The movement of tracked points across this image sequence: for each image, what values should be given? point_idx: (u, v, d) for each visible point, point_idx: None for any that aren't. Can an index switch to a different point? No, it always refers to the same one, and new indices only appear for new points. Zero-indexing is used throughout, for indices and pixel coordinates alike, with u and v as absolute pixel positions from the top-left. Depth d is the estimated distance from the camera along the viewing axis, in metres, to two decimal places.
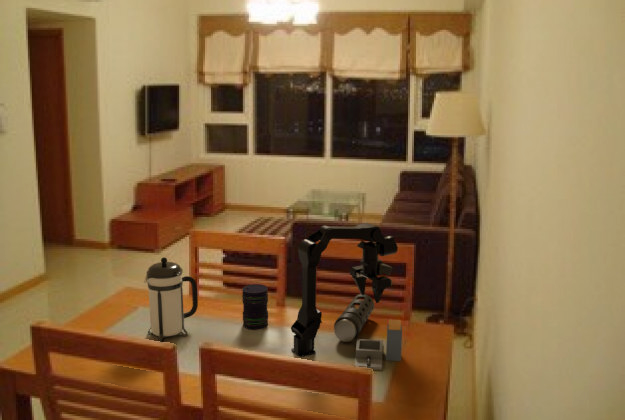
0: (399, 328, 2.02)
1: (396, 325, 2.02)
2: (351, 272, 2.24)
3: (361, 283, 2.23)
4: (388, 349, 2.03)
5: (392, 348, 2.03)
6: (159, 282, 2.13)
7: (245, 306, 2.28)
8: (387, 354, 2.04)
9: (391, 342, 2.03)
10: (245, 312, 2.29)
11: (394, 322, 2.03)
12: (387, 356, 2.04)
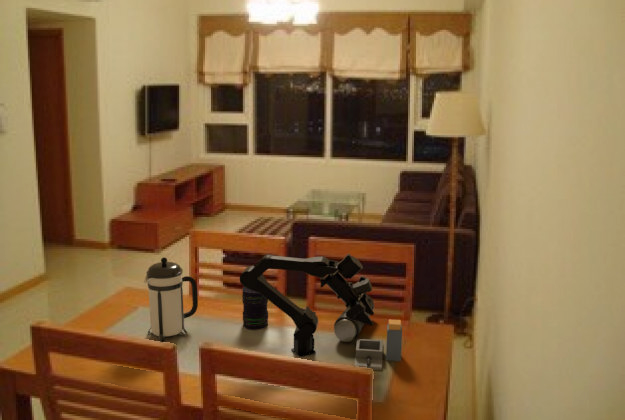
0: (399, 328, 2.02)
1: (397, 325, 2.02)
2: None
3: None
4: (388, 349, 2.03)
5: (392, 348, 2.03)
6: (159, 282, 2.13)
7: (245, 306, 2.28)
8: (387, 354, 2.04)
9: (391, 342, 2.03)
10: (245, 312, 2.29)
11: (394, 322, 2.03)
12: (387, 356, 2.04)
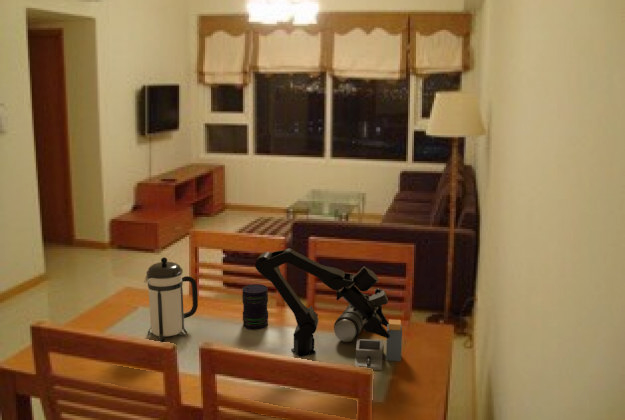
0: (399, 328, 2.02)
1: (397, 325, 2.02)
2: None
3: None
4: (388, 349, 2.03)
5: (392, 348, 2.03)
6: (159, 282, 2.13)
7: (245, 306, 2.28)
8: (387, 354, 2.04)
9: (391, 342, 2.03)
10: (245, 312, 2.29)
11: (394, 322, 2.03)
12: (387, 356, 2.04)
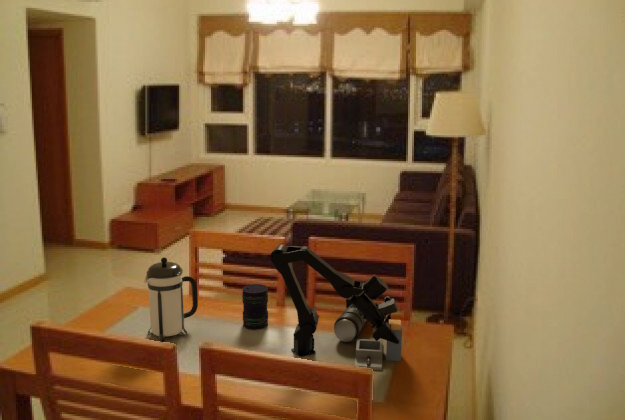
0: (399, 328, 2.02)
1: (397, 325, 2.02)
2: None
3: None
4: (388, 349, 2.03)
5: (392, 348, 2.03)
6: (159, 282, 2.13)
7: (245, 306, 2.28)
8: (387, 354, 2.04)
9: (391, 342, 2.03)
10: (245, 312, 2.29)
11: (394, 322, 2.03)
12: (387, 356, 2.04)
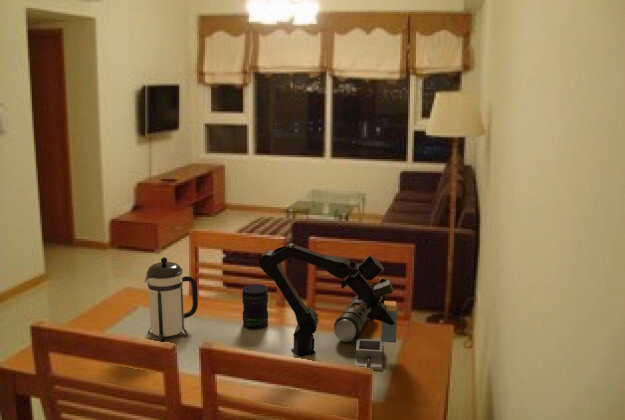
0: (394, 309, 2.00)
1: (392, 306, 2.00)
2: None
3: None
4: (383, 330, 2.02)
5: (387, 329, 2.02)
6: (159, 282, 2.13)
7: (245, 306, 2.28)
8: (382, 335, 2.02)
9: (386, 323, 2.01)
10: (245, 312, 2.29)
11: (390, 304, 2.02)
12: (382, 337, 2.03)
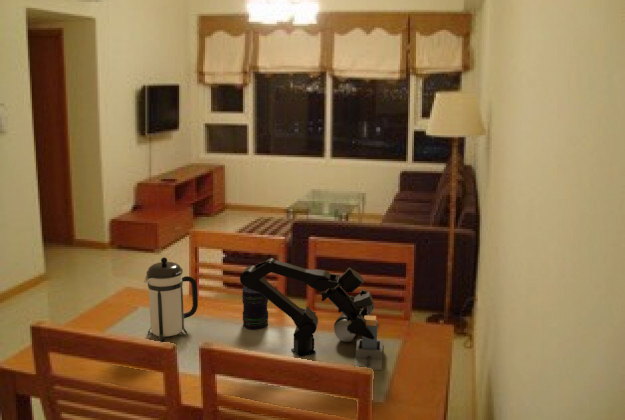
0: (374, 324, 2.02)
1: (372, 321, 2.02)
2: None
3: None
4: (363, 345, 2.04)
5: (367, 344, 2.04)
6: (159, 282, 2.13)
7: (245, 306, 2.28)
8: None
9: (366, 338, 2.03)
10: (245, 312, 2.29)
11: (370, 318, 2.04)
12: None
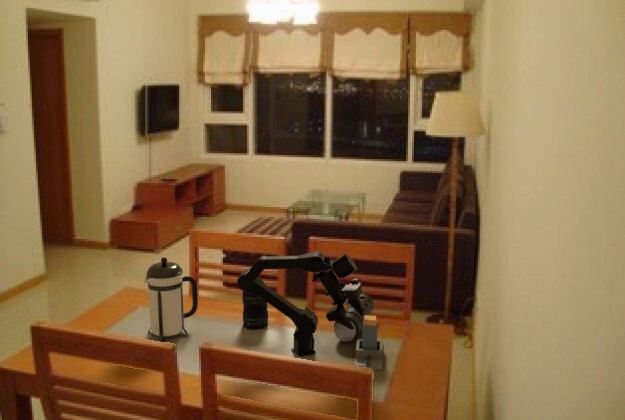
0: (374, 324, 2.02)
1: (372, 321, 2.02)
2: None
3: (354, 304, 2.09)
4: (363, 345, 2.04)
5: (367, 344, 2.04)
6: (159, 282, 2.13)
7: (245, 306, 2.28)
8: None
9: (366, 338, 2.03)
10: (245, 312, 2.29)
11: (370, 318, 2.04)
12: None
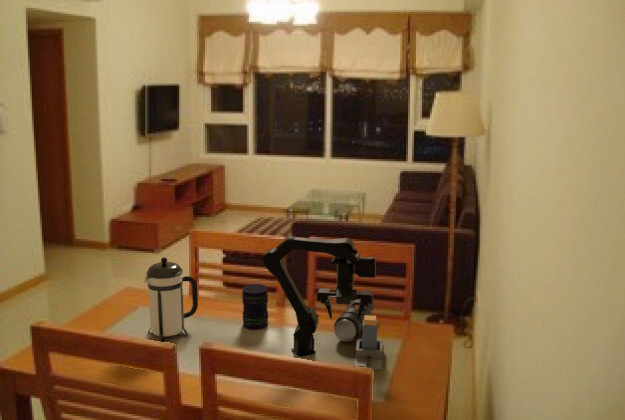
0: (374, 324, 2.02)
1: (372, 321, 2.02)
2: None
3: None
4: (363, 345, 2.04)
5: (367, 344, 2.04)
6: (159, 282, 2.13)
7: (245, 306, 2.28)
8: None
9: (366, 338, 2.03)
10: (245, 312, 2.29)
11: (370, 318, 2.04)
12: None
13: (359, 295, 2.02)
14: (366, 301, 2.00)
